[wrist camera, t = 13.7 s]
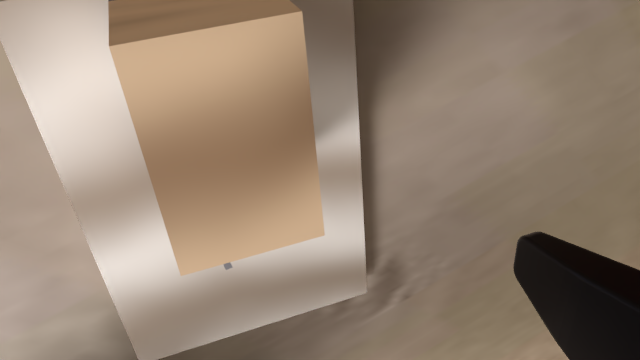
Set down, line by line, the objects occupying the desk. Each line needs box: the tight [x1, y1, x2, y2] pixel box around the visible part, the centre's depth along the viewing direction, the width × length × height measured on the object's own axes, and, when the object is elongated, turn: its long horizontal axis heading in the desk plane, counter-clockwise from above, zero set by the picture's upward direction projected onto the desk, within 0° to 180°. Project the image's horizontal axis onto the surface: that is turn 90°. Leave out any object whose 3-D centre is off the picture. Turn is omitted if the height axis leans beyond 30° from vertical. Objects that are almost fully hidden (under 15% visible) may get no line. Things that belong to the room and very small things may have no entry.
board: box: [0, 0, 367, 360], centre depth 21 cm, size 16×11×1 cm
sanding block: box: [108, 0, 325, 276], centre depth 16 cm, size 7×4×5 cm, turn 5°
